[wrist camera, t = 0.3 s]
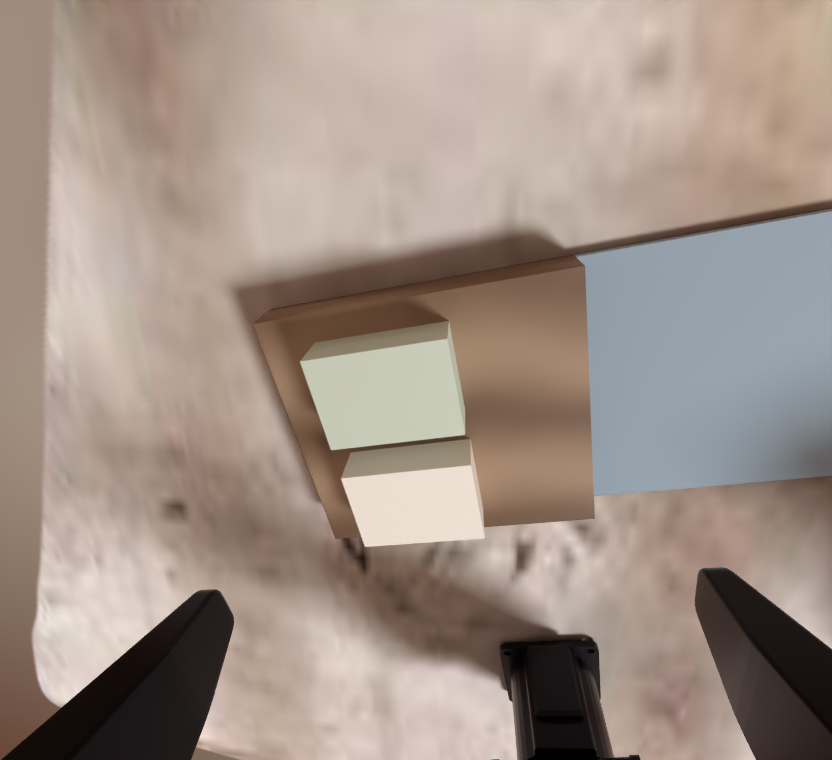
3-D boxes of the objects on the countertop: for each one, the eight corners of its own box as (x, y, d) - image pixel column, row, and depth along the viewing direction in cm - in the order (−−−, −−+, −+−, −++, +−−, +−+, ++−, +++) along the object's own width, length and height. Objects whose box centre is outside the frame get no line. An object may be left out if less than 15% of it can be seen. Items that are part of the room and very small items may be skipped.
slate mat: (881, 465, 22) (888, 471, 21) (585, 491, 24) (586, 496, 24) (970, 183, 16) (981, 184, 16) (573, 255, 19) (575, 257, 18)
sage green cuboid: (465, 410, 20) (465, 434, 19) (342, 425, 21) (331, 450, 20) (449, 320, 18) (447, 338, 17) (314, 342, 20) (299, 361, 18)
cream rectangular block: (483, 508, 23) (484, 538, 21) (372, 517, 24) (364, 547, 22) (470, 438, 21) (470, 465, 19) (350, 452, 22) (340, 478, 20)
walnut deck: (585, 491, 24) (594, 518, 23) (344, 513, 27) (335, 538, 25) (573, 255, 19) (585, 265, 17) (270, 309, 21) (252, 324, 19)
